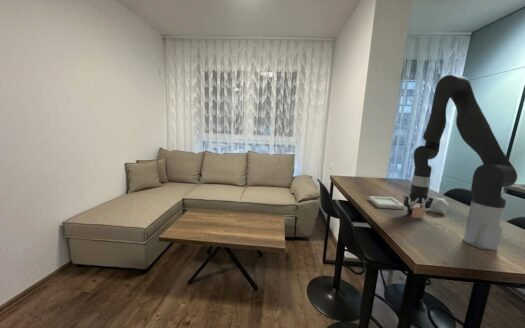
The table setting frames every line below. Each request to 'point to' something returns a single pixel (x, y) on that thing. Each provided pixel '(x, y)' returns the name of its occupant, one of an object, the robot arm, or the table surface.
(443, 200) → the die
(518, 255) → the table surface
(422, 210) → the cube
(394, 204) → the tray
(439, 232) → the table surface
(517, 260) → the table surface
